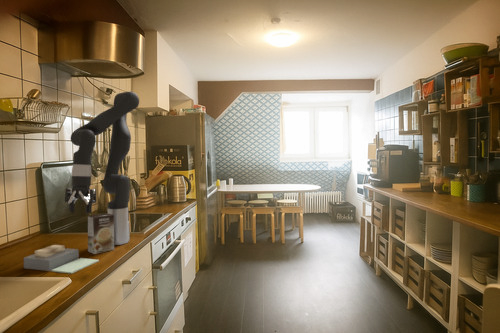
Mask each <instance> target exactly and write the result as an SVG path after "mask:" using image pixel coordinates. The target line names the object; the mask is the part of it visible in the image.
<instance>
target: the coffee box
mask: <svg viewBox="0 0 500 333" xmlns="http://www.w3.org/2000/svg"><path fill="white" fill-rule="evenodd" d="M114 250H115V245H114V215H113V214H108V213H101V214H93V215H88V216H87V252H88V253H91V254H93V255H97V254H100V253H101V254H102V253H105V252H106V253H107V252H109V251H114Z"/></svg>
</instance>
